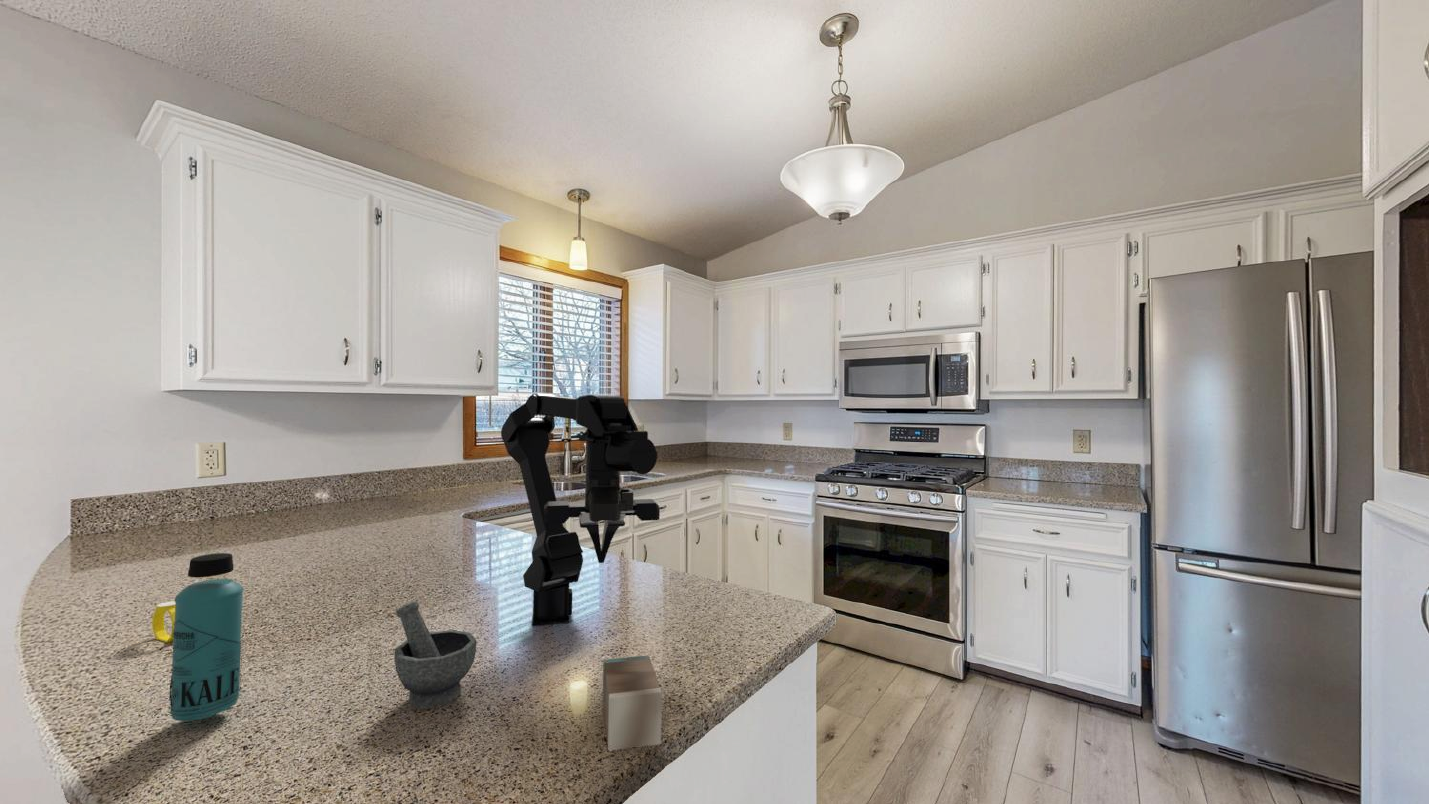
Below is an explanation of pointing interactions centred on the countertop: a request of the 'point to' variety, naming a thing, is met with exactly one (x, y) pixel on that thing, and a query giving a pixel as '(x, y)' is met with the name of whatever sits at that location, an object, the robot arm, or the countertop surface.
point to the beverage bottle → (206, 641)
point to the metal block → (631, 703)
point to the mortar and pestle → (431, 660)
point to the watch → (159, 621)
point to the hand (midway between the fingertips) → (601, 562)
